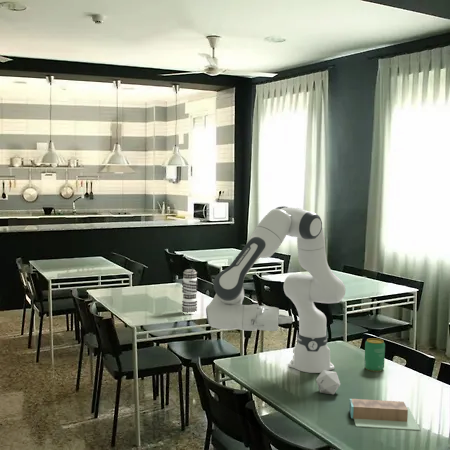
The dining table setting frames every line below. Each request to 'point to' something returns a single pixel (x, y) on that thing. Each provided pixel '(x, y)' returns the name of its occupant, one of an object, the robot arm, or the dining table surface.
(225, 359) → the dining table surface
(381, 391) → the dining table surface
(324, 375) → the die
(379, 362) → the beverage can
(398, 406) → the walnut block
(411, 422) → the green mat
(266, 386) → the dining table surface
